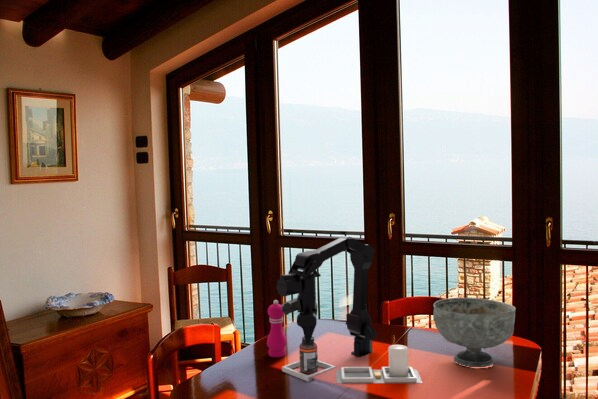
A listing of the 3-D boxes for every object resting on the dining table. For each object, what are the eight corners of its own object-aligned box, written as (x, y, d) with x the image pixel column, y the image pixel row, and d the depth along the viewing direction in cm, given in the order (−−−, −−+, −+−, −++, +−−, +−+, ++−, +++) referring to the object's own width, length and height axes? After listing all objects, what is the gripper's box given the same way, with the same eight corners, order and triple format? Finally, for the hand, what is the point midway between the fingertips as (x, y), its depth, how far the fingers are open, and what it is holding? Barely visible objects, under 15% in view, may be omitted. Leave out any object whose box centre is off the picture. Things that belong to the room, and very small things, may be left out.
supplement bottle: (299, 368, 179) (298, 335, 179) (316, 367, 180) (316, 334, 179) (300, 375, 173) (299, 340, 173) (318, 373, 174) (318, 339, 173)
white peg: (396, 371, 172) (396, 343, 171) (412, 376, 167) (411, 347, 167) (385, 376, 168) (384, 347, 167) (400, 381, 163) (400, 352, 163)
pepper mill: (284, 358, 189) (283, 302, 188) (264, 357, 191) (263, 302, 190) (289, 351, 196) (287, 297, 195) (270, 350, 198) (268, 297, 197)
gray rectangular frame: (416, 373, 173) (416, 365, 172) (422, 386, 162) (422, 379, 161) (336, 373, 174) (335, 366, 174) (336, 387, 163) (336, 379, 163)
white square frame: (309, 361, 186) (309, 357, 185) (335, 370, 176) (335, 366, 176) (282, 371, 177) (281, 366, 177) (307, 381, 168) (307, 376, 168)
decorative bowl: (427, 369, 174) (429, 308, 173) (435, 346, 198) (437, 292, 197) (515, 381, 165) (517, 317, 164) (512, 356, 189) (514, 300, 188)
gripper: (284, 285, 185) (286, 330, 186) (280, 298, 166) (281, 348, 167) (316, 285, 184) (318, 329, 185) (315, 298, 166) (317, 347, 167)
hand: (308, 338), depth 176 cm, fingers open, 9 cm apart
